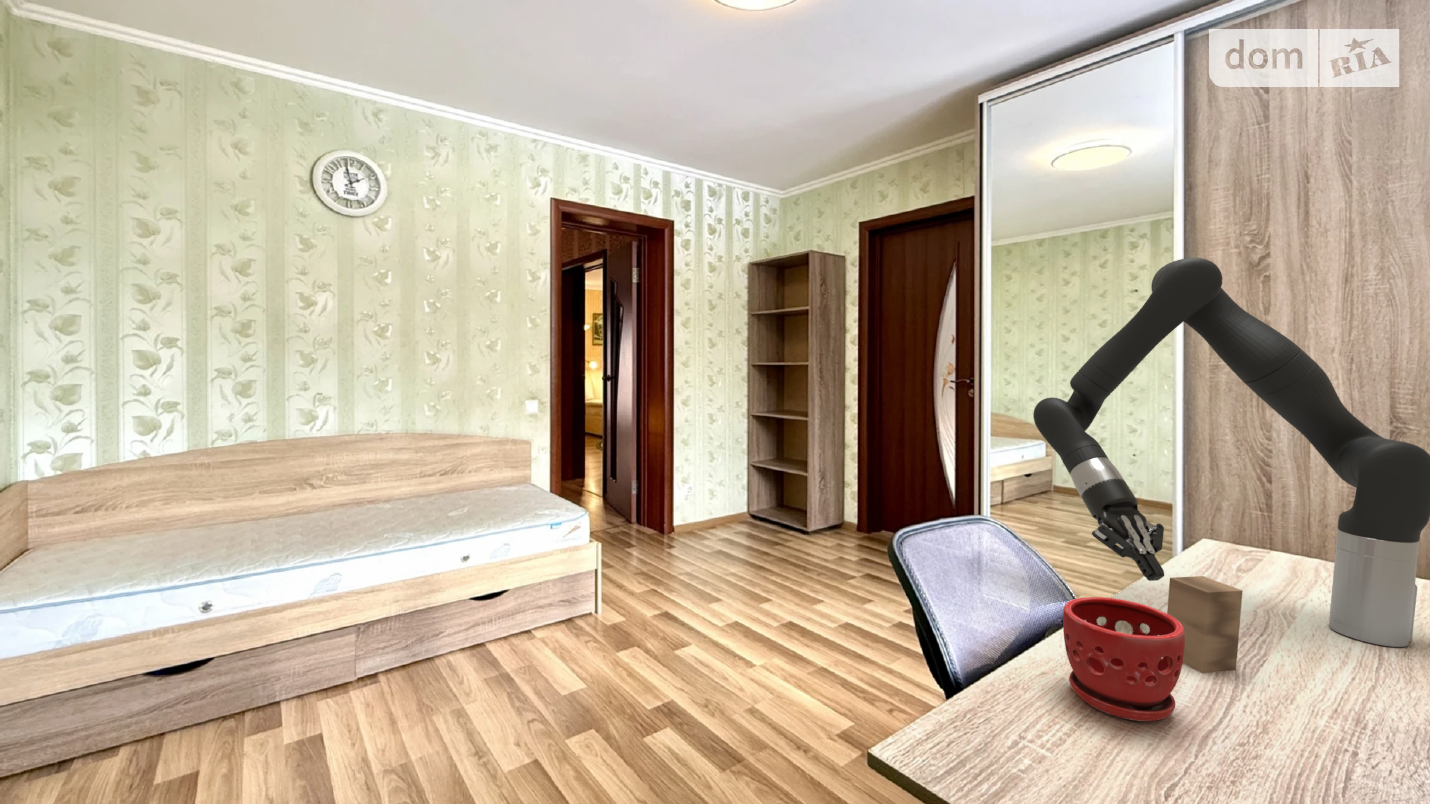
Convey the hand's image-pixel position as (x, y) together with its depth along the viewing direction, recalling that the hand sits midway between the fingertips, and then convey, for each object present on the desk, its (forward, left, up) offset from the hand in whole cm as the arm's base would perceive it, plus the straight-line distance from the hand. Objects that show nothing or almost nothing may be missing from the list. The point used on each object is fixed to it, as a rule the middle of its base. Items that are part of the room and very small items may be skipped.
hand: (1157, 578), depth 98 cm
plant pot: (+22, +16, -10) cm, 29 cm away
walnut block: (0, +8, -10) cm, 13 cm away
